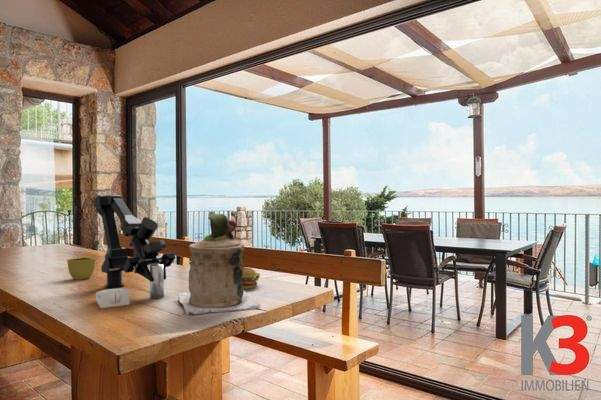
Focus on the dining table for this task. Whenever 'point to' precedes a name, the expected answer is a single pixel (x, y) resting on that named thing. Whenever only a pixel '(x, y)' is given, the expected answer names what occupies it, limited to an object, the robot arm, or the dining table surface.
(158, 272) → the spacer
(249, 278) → the food
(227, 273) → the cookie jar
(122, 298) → the scale
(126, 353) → the dining table surface
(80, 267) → the flower pot
